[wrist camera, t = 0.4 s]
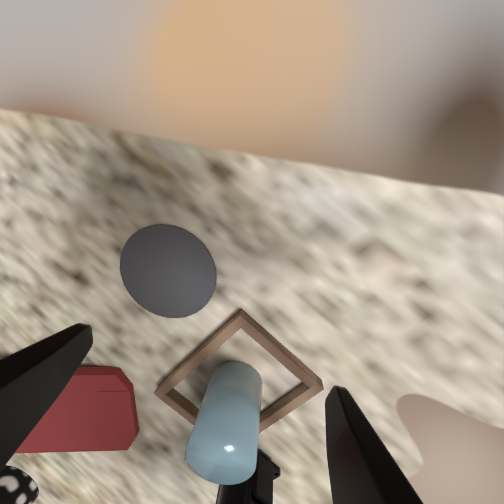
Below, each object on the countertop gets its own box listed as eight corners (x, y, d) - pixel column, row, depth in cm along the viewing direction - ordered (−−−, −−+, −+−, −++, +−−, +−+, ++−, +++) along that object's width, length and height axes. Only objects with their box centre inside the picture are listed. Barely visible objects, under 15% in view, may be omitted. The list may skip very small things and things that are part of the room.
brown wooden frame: (231, 442, 30) (229, 453, 29) (158, 385, 29) (153, 393, 28) (321, 380, 26) (323, 389, 25) (241, 309, 25) (240, 315, 23)
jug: (226, 419, 29) (207, 503, 22) (189, 390, 28) (156, 466, 21) (273, 384, 27) (271, 464, 19) (234, 351, 26) (216, 421, 19)
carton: (143, 346, 32) (-55, 347, 31) (127, 375, 28) (-107, 377, 26) (151, 414, 36) (-27, 418, 34) (137, 450, 31) (-69, 456, 30)
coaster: (176, 333, 26) (175, 334, 26) (104, 272, 25) (102, 273, 25) (236, 274, 24) (236, 275, 23) (158, 202, 22) (157, 203, 22)
